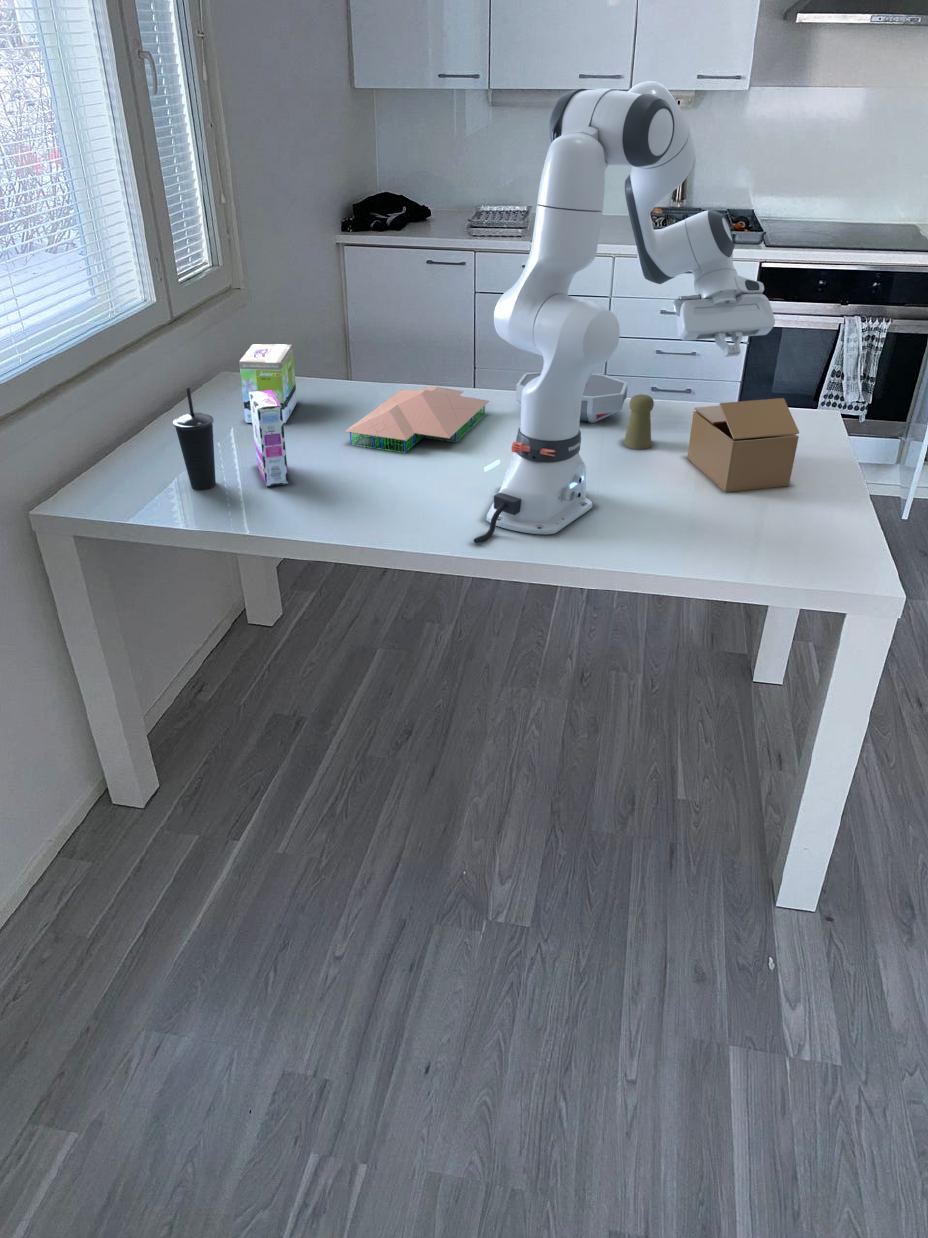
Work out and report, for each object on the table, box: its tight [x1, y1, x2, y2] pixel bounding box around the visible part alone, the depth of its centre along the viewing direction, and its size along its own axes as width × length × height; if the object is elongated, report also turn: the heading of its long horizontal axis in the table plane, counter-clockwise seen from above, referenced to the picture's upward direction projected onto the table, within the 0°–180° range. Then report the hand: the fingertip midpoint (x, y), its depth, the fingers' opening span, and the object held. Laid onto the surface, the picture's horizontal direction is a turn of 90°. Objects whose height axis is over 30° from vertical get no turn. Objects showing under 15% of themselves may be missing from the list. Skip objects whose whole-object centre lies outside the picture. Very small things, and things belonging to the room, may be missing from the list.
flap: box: [718, 397, 800, 439], centre depth 184 cm, size 9×14×1 cm, turn 103°
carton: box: [686, 405, 800, 493], centre depth 192 cm, size 18×14×11 cm
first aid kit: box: [515, 371, 629, 424], centre depth 222 cm, size 18×8×25 cm
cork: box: [623, 393, 655, 450], centre depth 205 cm, size 6×6×11 cm
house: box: [344, 386, 490, 454], centre depth 214 cm, size 23×33×8 cm
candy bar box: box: [249, 390, 290, 487], centre depth 189 cm, size 11×5×16 cm, turn 20°
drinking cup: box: [172, 387, 217, 491], centre depth 183 cm, size 8×8×20 cm
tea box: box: [239, 343, 298, 424], centre depth 221 cm, size 15×10×15 cm
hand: (732, 354), depth 191 cm, fingers closed
